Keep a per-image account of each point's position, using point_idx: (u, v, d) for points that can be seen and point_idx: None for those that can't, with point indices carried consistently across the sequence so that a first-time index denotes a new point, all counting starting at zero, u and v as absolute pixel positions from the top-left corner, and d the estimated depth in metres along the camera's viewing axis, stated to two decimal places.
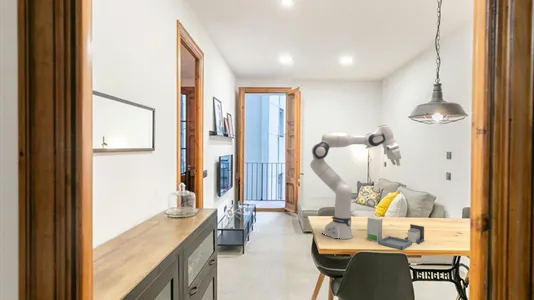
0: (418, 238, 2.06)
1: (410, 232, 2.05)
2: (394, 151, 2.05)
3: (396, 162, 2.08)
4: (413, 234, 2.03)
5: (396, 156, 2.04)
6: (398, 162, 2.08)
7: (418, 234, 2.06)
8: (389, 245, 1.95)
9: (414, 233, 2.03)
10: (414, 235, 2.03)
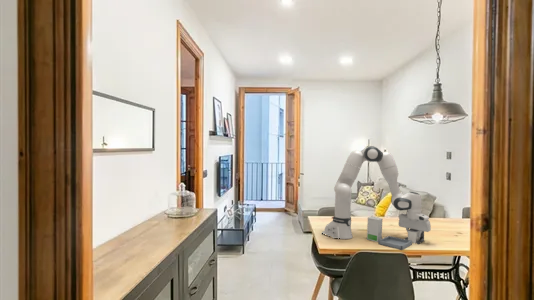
0: (418, 238, 2.06)
1: (410, 232, 2.05)
2: (428, 222, 1.99)
3: (419, 233, 2.03)
4: (413, 234, 2.03)
5: (429, 228, 1.99)
6: (420, 233, 2.04)
7: None
8: (389, 245, 1.95)
9: (414, 233, 2.03)
10: (414, 235, 2.03)
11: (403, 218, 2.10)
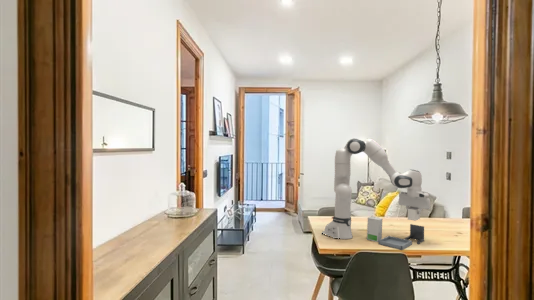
0: (418, 216, 2.06)
1: (410, 209, 2.05)
2: (428, 200, 1.99)
3: (419, 210, 2.03)
4: (413, 211, 2.03)
5: (429, 205, 1.99)
6: (420, 211, 2.04)
7: None
8: (389, 245, 1.95)
9: (414, 210, 2.03)
10: (414, 212, 2.03)
11: (403, 196, 2.10)
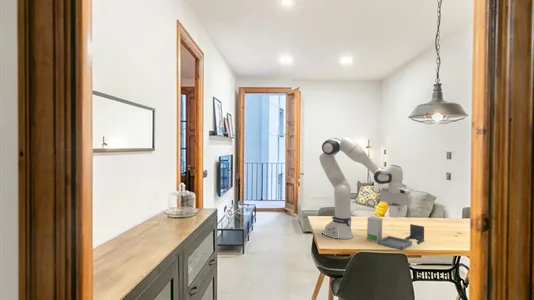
0: (399, 213, 1.99)
1: (391, 206, 1.98)
2: (409, 196, 1.93)
3: (400, 207, 1.97)
4: (394, 208, 1.97)
5: (410, 201, 1.92)
6: (401, 207, 1.97)
7: None
8: (389, 245, 1.95)
9: (395, 207, 1.96)
10: (395, 209, 1.96)
11: (384, 193, 2.04)
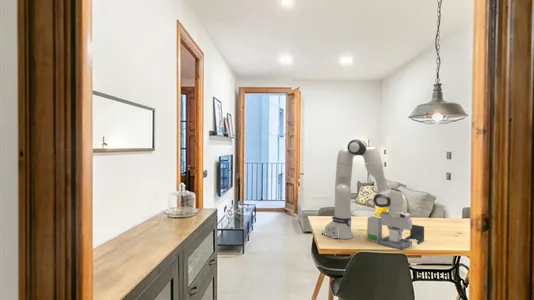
0: (400, 236, 1.99)
1: (391, 230, 1.98)
2: (409, 220, 1.93)
3: None
4: (394, 232, 1.97)
5: (410, 226, 1.92)
6: (402, 231, 1.97)
7: None
8: (389, 245, 1.95)
9: (395, 231, 1.96)
10: (395, 233, 1.96)
11: (384, 216, 2.04)
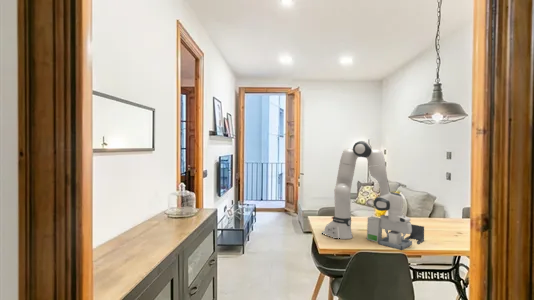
0: (399, 240, 1.99)
1: (391, 234, 1.98)
2: (409, 224, 1.93)
3: (403, 236, 1.96)
4: (394, 236, 1.97)
5: (410, 230, 1.92)
6: None
7: (399, 236, 1.99)
8: (389, 245, 1.95)
9: (395, 235, 1.96)
10: (395, 237, 1.96)
11: (384, 220, 2.04)
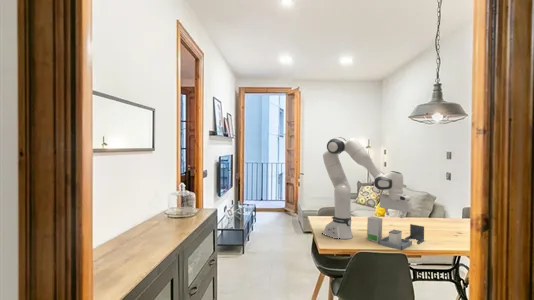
0: (399, 240, 1.99)
1: (391, 234, 1.98)
2: (409, 203, 1.93)
3: (402, 214, 1.96)
4: (394, 236, 1.97)
5: (410, 208, 1.92)
6: (403, 214, 1.96)
7: (399, 236, 1.99)
8: (389, 245, 1.95)
9: (395, 235, 1.96)
10: (395, 237, 1.96)
11: (384, 198, 2.04)
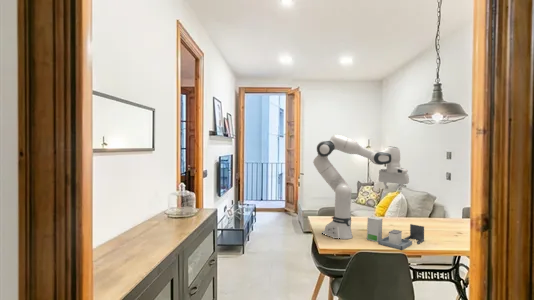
0: (399, 240, 1.99)
1: (391, 234, 1.98)
2: (406, 175, 2.04)
3: (400, 186, 2.06)
4: (394, 236, 1.97)
5: (407, 180, 2.03)
6: (401, 187, 2.07)
7: (399, 236, 1.99)
8: (389, 245, 1.95)
9: (395, 235, 1.96)
10: (395, 237, 1.96)
11: (383, 173, 2.15)
